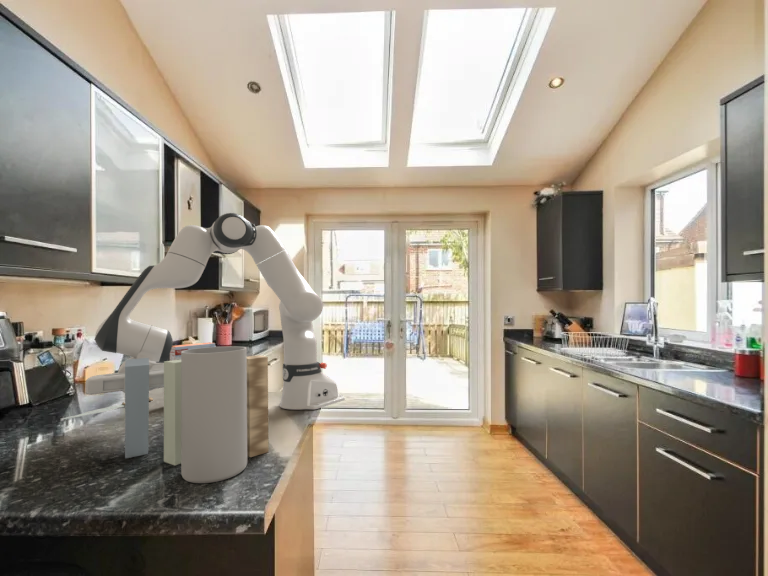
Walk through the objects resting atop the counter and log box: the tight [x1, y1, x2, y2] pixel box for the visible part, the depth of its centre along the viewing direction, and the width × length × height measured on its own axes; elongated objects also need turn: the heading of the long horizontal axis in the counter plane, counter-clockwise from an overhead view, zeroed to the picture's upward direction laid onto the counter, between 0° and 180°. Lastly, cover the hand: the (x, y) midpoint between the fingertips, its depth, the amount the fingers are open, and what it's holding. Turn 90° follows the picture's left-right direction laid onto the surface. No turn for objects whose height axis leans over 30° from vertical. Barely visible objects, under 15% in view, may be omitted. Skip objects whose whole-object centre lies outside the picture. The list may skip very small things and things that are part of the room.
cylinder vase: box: [180, 346, 248, 484], centre depth 81 cm, size 12×12×25 cm
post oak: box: [247, 354, 270, 458], centre depth 91 cm, size 4×4×22 cm
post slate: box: [124, 358, 150, 459], centre depth 89 cm, size 4×4×22 cm
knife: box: [61, 396, 154, 420], centre depth 132 cm, size 27×2×5 cm
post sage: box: [163, 359, 181, 466], centre depth 87 cm, size 4×4×22 cm
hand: (136, 385), depth 91 cm, fingers closed
